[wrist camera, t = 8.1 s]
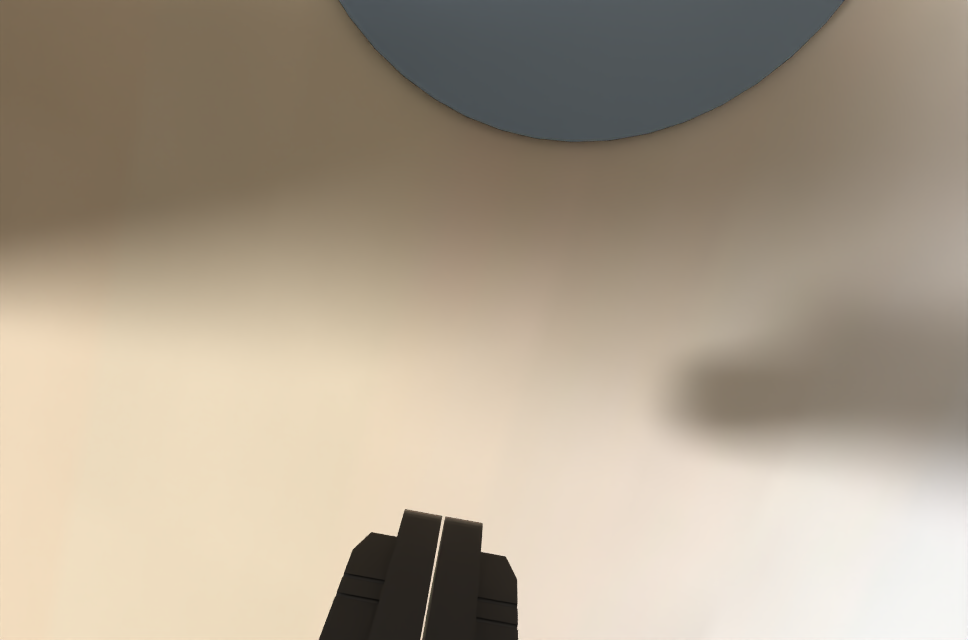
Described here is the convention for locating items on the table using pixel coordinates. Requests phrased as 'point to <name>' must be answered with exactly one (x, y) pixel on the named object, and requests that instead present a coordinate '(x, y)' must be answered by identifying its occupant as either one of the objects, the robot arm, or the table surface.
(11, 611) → the table surface
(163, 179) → the table surface
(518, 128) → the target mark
